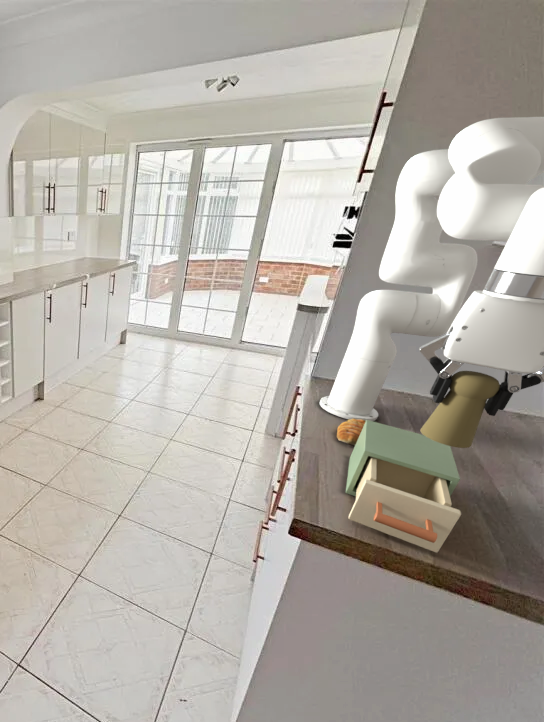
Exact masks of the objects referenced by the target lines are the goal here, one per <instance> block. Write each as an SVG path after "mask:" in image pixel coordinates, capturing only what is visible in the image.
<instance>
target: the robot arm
mask: <svg viewBox="0 0 544 722" xmlns="http://www.w3.org/2000/svg"><path fill="white" fill-rule="evenodd" d="M543 173H544V116H524V117H521V116H519V117H518V116H517V117H494V118H488V119H487V118H486V119H483V120H480V121H477V122H474V123H472V124H470V125H468V126H467V127H465V128H463V129H462V130H461V131H460V132H458V133H457V134H456V135H455V137H454V138H453V139H452V140H451V143H450V144H449V146H448V148H443V149H432V150H428V151H422V152H419V153H418V154H415V155H414V156H412V157H410V159H409V160H407V162H406V163H405V164H404V166H403V168H402V169H401V171H400V173H399V176H398V178H397V182H396V188H395V193H394V194H395V197H394V201H395V202H394V203H395V205H394V206H395V215H394V217H395V218H394V221H393V226H392V229H391V232H390V234H389V237H388V240H387V243H386V246H385V249H384V252H383V255H382V257H381V261H380V264H379V270H378V276H379V279H380V280H381V281H383V282H385V283H389V284H394V285H402V286H413V287H421V288H422V287H423V288H431V289H432V293H426V292H417V291H416V292H415V291H407V290H397V289H377V290H376V289H375V290H373V291H369V292H368V293H366V294H364V296H363V297H362V298H361V299H360V300H359V303H358V307H357V310H356V316H355V323H354V325H353V330H352V334H351V336H350V339H349V343H348V346H347V348H346V351H345V353H344V356H343V358H342V361H341V363H340V367H339V369H338V371H337V375H336V377H335V380H334V383H333V385H332V388H331V391H330V393H329V395H327V396H323V397H321V398H320V400H319V406H320V408H322V409H323V410H324V411H326V412H327V413H330V414H331V415H334V416H336V417H339V418H342V419H346V420H351V419H362V420H365V421H366V420H369V421H373V422H376V420H377V419H378V417H379V412H378V410H376V409H375V408H374V407H375V405H376V402H377V400H378V397H379V395H380V394H381V391H382V388H383V386H384V384H385V382H386V379H387V377H388V375H389V373H390V370H391V368H392V366H393V364H394V362H395V359H396V357H397V354H398V353H397V352H398V349H397V346H396V345H397V344H396V343H395V341H394V340H393V339H392V335H391V334H403V335H410V336H411V335H412V336H419V337H427V338H428V337H429V338H435V339H433V340H431V341H429V342H427V343H425V344H423V345H421V346H420V347H419V348H418V351H419V353H420V354H421V355H422V356H423V358H425V359H426V361H427V362H429V364H430V365H431V366H432V368H433V369H434V371H435V372H436V373H437V376H436V378H435V380H434V382H433V384H432V386H431V388H430V390H429V395H431V396H432V398H433V402H434V403H436V404H440V403H441V402H442V401H443V399H444V397H445V396H446V395H447V393H448V392H449V390H450V388H449V387H450V385H451V383H452V379H451V377H452V376H453V375H454V374H455V373H456V371H458V369H459V368H461V367H462V366H463V365H464V364H467V365H473V366H478V367H484V368H489V369H495V370H500V371H504V372H503V381H502V382H501V383H499V385H500V387H499V391H498V392H497V394H495V395H494V396H493V397H491V398H489V399H487V401H486V404H485V407H484V410H485V412H486V414H487V415H489V416H492V417H495V416H496V415H497V413H498V411H504V410H505V408H506V407H507V405H508V403H509V402H510V400H511V398H512V397H513V395H514V394H517V393H519V392H521V390H524V389H527V388H530V387H534V386H537V385H540V384H542V383H544V184H529V182H530V181H532V180H533V179H535V178H537V177H539V176H540V175H541V174H543ZM437 196H438V199H437ZM442 232H444V233H446V234H447V236H449V237H452V238H454V239H457V240H467V241H484V242H485V241H486V242H503V243H504V242H505V246H504V248H503V249H502V251H501V253H500V255H499V257H498V259H497V261H496V264H495V265H494V267H493V269H492V272H491V274H490V275H489V277H488V279H487V281H486V283H485V286H484V287H483V289H482V290H474V291H472V293H471V294H470V296H468V299H466V301H465V302H464V300H465V298H466V296H467V293H468V291H469V288H470V287H471V283H472V281H473V278H474V276H475V273H476V271H477V267H478V262H479V261H478V253H477V250H476V249H475V248H474V247H473V246H470V245H467V244H464V243H452V242H441V240H440V239H441V236H442ZM463 303H464V304H463ZM436 337H437V338H436ZM439 349H441V351H442V352H443V356H444V357H445V358H446V359H445V360H444V361H443V360H442V359H441V357H439V355H437V353H436V352H437V351H438V350H439Z"/></svg>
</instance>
